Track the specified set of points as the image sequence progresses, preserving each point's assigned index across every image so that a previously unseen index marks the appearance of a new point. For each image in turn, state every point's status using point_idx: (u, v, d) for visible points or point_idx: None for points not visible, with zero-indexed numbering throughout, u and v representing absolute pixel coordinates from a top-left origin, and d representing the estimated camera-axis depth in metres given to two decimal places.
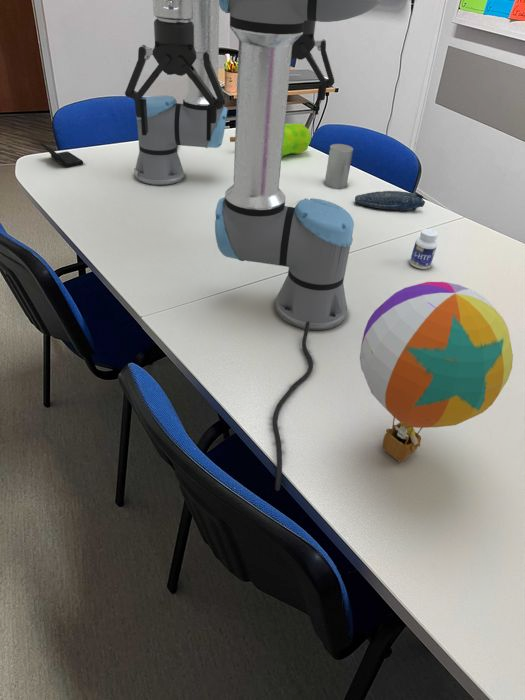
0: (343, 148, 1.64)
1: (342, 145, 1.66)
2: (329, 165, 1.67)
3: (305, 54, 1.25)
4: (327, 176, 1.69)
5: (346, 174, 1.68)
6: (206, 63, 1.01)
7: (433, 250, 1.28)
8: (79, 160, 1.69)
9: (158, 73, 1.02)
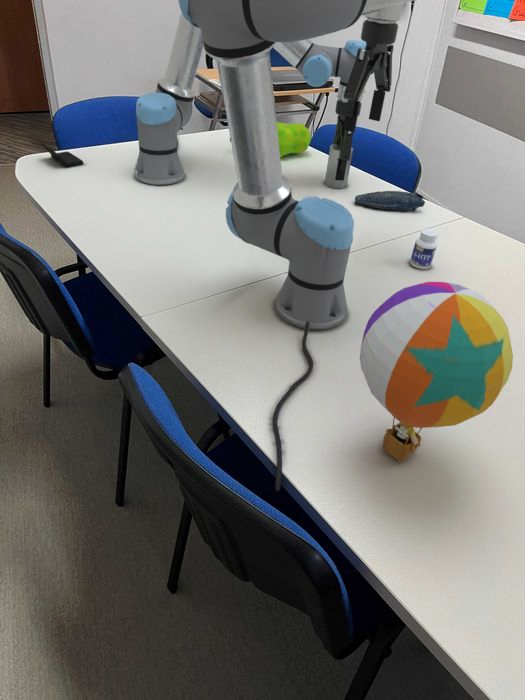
0: None
1: None
2: (329, 165, 1.67)
3: (384, 63, 1.16)
4: (327, 176, 1.69)
5: (346, 174, 1.68)
6: None
7: (433, 250, 1.28)
8: (79, 160, 1.69)
9: None
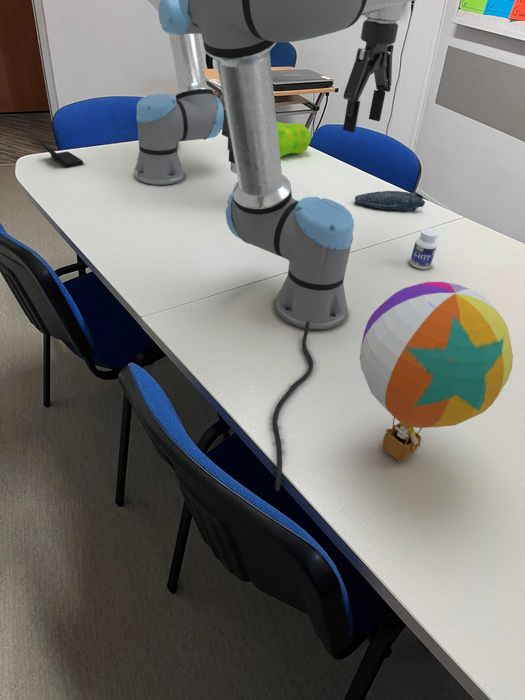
0: None
1: None
2: None
3: (384, 63, 1.16)
4: None
5: None
6: None
7: (433, 250, 1.28)
8: (79, 160, 1.69)
9: None
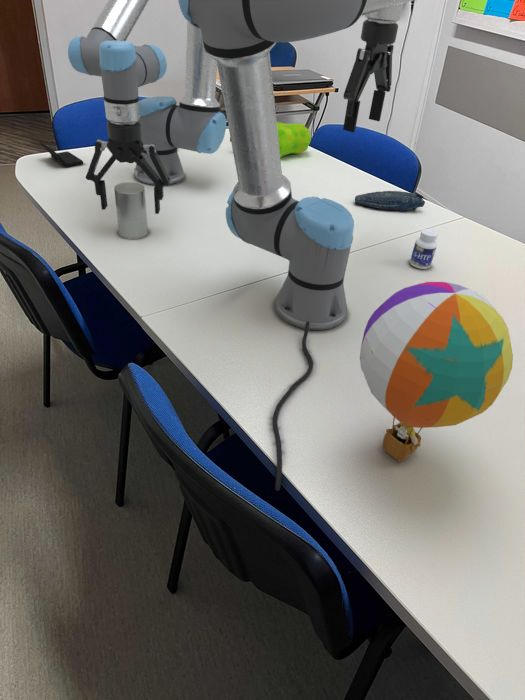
0: (124, 188, 1.27)
1: (135, 189, 1.27)
2: None
3: (384, 63, 1.16)
4: None
5: (119, 220, 1.30)
6: (151, 154, 1.21)
7: (433, 250, 1.28)
8: (79, 160, 1.69)
9: (112, 162, 1.22)
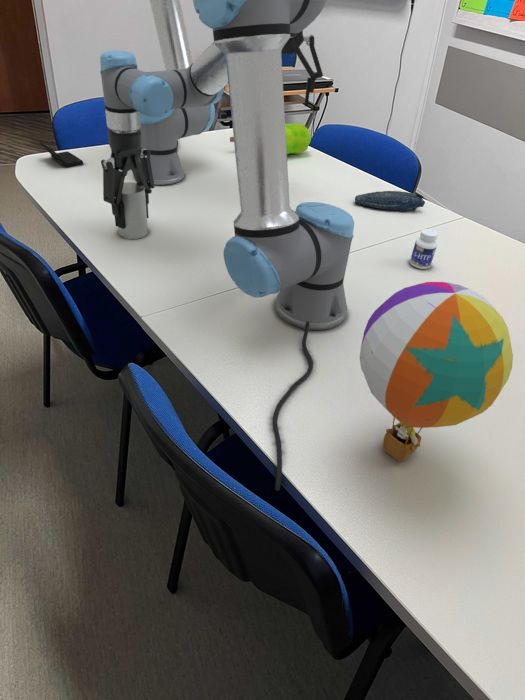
0: (124, 188, 1.27)
1: (135, 189, 1.27)
2: None
3: (137, 164, 1.24)
4: None
5: None
6: (311, 44, 1.31)
7: (433, 250, 1.28)
8: (79, 160, 1.69)
9: None
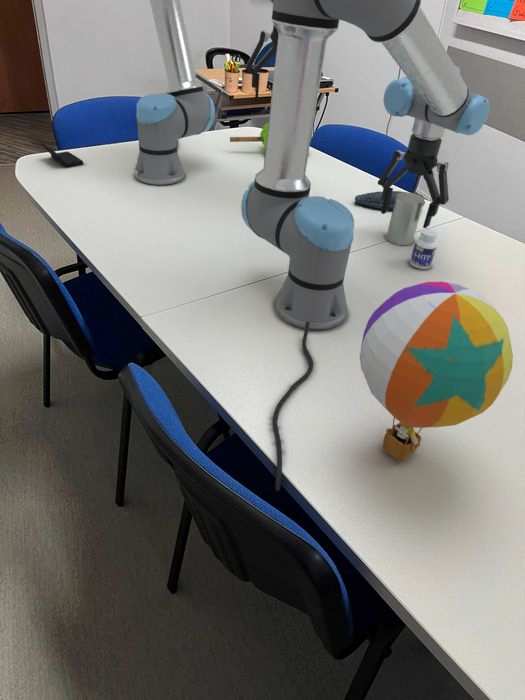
0: (407, 195, 1.37)
1: (409, 199, 1.35)
2: None
3: (423, 172, 1.29)
4: None
5: None
6: None
7: (433, 250, 1.28)
8: (79, 160, 1.69)
9: (274, 52, 1.32)
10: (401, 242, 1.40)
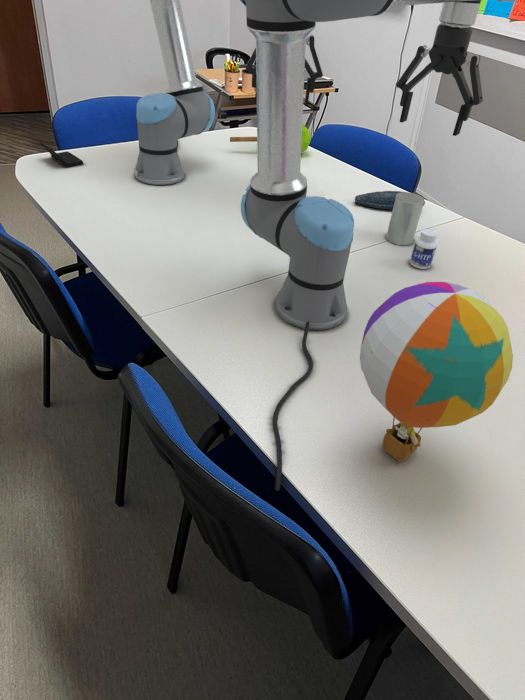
0: (407, 195, 1.37)
1: (409, 199, 1.35)
2: None
3: (452, 69, 1.15)
4: None
5: None
6: (311, 44, 1.31)
7: (433, 250, 1.28)
8: (79, 160, 1.69)
9: None
10: (401, 242, 1.40)
